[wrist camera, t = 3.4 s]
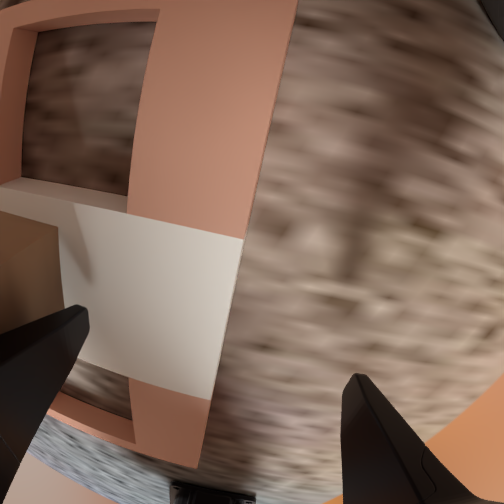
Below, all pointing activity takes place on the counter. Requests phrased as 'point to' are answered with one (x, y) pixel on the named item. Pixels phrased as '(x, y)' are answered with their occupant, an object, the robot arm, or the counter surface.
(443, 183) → the counter surface
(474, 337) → the counter surface
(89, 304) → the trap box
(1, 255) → the walnut block
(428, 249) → the counter surface
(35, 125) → the counter surface
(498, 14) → the smart speaker
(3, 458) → the robot arm
